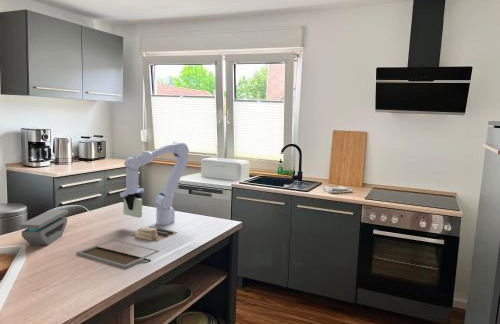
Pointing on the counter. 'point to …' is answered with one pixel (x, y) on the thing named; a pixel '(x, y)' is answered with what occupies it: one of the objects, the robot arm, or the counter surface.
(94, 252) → the grey framed board
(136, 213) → the sage green block
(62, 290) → the counter surface
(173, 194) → the robot arm
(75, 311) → the counter surface
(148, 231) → the offcut upper
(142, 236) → the offcut lower
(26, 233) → the grey slotted block
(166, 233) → the rack
